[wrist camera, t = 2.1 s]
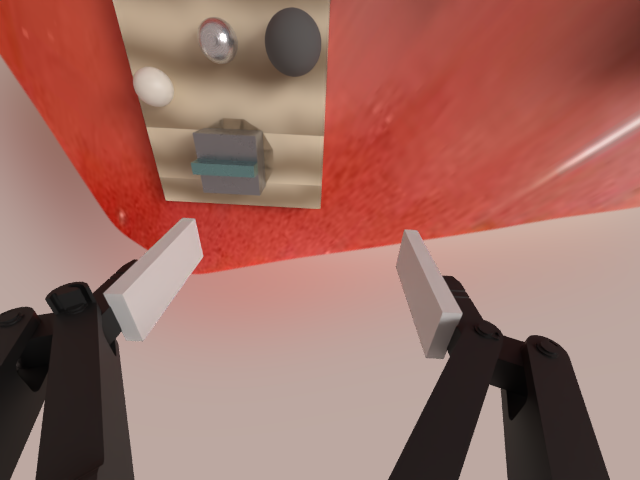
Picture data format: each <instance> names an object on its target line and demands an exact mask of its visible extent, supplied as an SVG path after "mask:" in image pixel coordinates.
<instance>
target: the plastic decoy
mask: <svg viewBox="0 0 640 480" xmlns="http://www.w3.org/2000/svg"><path fill="white" fill-rule="evenodd" d="M133 86H134V90H135V92H136V94H137V95H138V97H139V98H140V99H141V100H142V101H144V102H145V103H147V104H148V105H151V106H154V107H163V106H166V105H168V104H169V103H170V102H171V101H172V99H173V97H174V87H173V84H172V82H171V80H170V78H169V77H168V76H167V75H166V74H165V73H164V72H162V71H161V70H159V69H157V68H154V67H143V68H141V69H139V70H138V71H137V72H136V73H135V75H134V78H133Z"/></svg>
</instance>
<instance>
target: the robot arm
mask: <svg viewBox="0 0 640 480" xmlns="http://www.w3.org/2000/svg"><path fill="white" fill-rule="evenodd" d="M202 258H203V253H202V248H201V244H200V239H199V235H198V230H197V225H196V221H195V219H193V218H182V219H181V220H180V221H179V222H178V223H176V224H175V225H174V226H173V227H172V228H171V229H170V230H169V231H168V232H167V233H166V234H165V235H164V236H163V237H162V238H161V239H160V240H159V241H158V242H157V243H155V244H154V245H153V246H152V247H151V248H150V249H149V250H148V251H147V252H146V253H145V254H144V255H143V256H142V257H141V258H140V259H139V260H132V261H131V262H129V263H127V264H125V265H124V266H122V267H121V268H120V269H119V270H118V271H117V272H116V273H115V274H114V275H113V276H111V277H110V279H108V280H107V281H106V282H105V283H104V284H103V285H101V286H100V287H99V288H98V289H97V290H96V291H95V292H94V293H93V294H92V292H91V290H90V288H89V286H88V284H87V283H84V282H73V283H68V284H65V285H63V286H60V287H58V288H56V289H54V290H53V291H51V292H50V293H49V294H48V295H47V297H46V299H45V300H46V301H47V303H48V305H49V306H50V307H51V309H52V311H53V312H54V313H50V314H43V315H37V314H36V313H35V311H34V310H33V309H32V308H30V307H20V308H15V309H11V310H9V311H7V312H4V313H2V314H0V480H10V478H11V476H12V474H13V471H14V469H15V467H16V465H17V462H18V460H19V458H20V455H21V453H22V451H23V449H24V446H25V444H26V442H27V439H28V437H29V435H30V432H31V430H32V428H33V425H34V423H35V421H36V419H37V416H38V414H39V412H40V410H41V407H42V405H43V402H44V400H45V404H44V413H43V421H42V430H41V438H40V446H39V454H38V463H37V471H36V480H134V472H133V464H132V455H131V447H130V439H129V430H128V423H127V413H126V405H125V397H124V388H123V380H122V373H121V372H122V371H121V364H120V355H119V346H118V342H117V340H116V337H117V336H118V335H119V334H120V332H121V331H122V333H123V335H124V337H125V339H126V340H130V341H144V339H145V338H146V337H147V335H148V334H149V332H150V331H151V329H152V328H153V327H154V325H155V324H156V322H157V321H158V320H159V318H160V317H161V315H162V314H163V312H164V311H165V310H166V308H167V307H168V306H169V304H170V303H171V301H172V300H173V299H174V297H175V296H176V294H177V293H178V292H179V290H180V289H181V287H182V286H183V284H184V283H185V282H186V280H187V279H188V277H189V276H190V275H191V273H192V272H193V270H194V269H195V268H196V266H197V265H198V263H199V262H200V261H201V259H202ZM396 269H397V272H398V275H399V278H400V281H401V284H402V287H403V290H404V293H405V296H406V299H407V302H408V305H409V308H410V311H411V314H412V318H413V321H414V324H415V326H416V330H417V333H418V336H419V339H420V342H421V345H422V348H423V351H424V354H425V357H426V358H436V359H443V358H444V356H445V354H446V352H447V350H448V353H449V355H450V358H449V360H448V362H447V364H446V366H445V368H444V370H443V372H442V374H441V376H440V378H439V380H438V382H437V384H436V386H435V388H434V390H433V392H432V394H431V396H430V398H429V399H428V401H427V404H426V405H425V407H424V409H423V412H422V413H421V416H420V417H419V419H418V421H417V424H416V425H415V428H414V429H413V431H412V434H411V435H410V437H409V439H408V441H407V443H406V445H405V447H404V449H403V451H402V453H401V455H400V457H399V459H398V461H397V463H396V465H395V467H394V469H393V471H392V473H391V475H390V477H389V479H388V480H458V479H459V476H460V473H461V470H462V467H463V464H464V461H465V457H466V454H467V451H468V448H469V445H470V442H471V439H472V436H473V433H474V430H475V427H476V424H477V421H478V418H479V414H480V411H481V408H482V405H483V402H484V399H485V396H486V393H487V390H488V387H489V384H490V385H493V386H496V387H499V388H501V397H502V410H503V422H504V437H505V450H506V463H507V477H508V480H610V478H609V476H608V472H607V469H606V467H605V463H604V460H603V457H602V454H601V451H600V448H599V445H598V442H597V439H596V436H595V433H594V430H593V427H592V424H591V421H590V418H589V415H588V412H587V409H586V406H585V403H584V400H583V397H582V394H581V391H580V388H579V385H578V382H577V379H576V376H575V373H574V370H573V367H572V364H571V361H570V358H569V356H568V354H567V352H566V351H565V350H564V349H563V348H562V347H561V346H560V345H559V344H557V343H556V342H554V341H552V340H550V339H548V338H546V337H543V336H538V335H532V336H530V337H528V338H527V340H526V341H525V342H523V341H519V340H516V339H512V338H509V337H506V336H503V334H502V333H501V331H500V330H499V329H498V328H497V327H496V326H495V325H493V324H491V323H490V322H488V321H485V320H483V319H482V317H481V315H480V314H479V312H478V310H477V309H476V307H475V306H474V304H473V302H472V301H471V299H470V298H469V296H468V294H467V293H466V292H465V289H464V288H463V286H462V285H461V283H460V282H459V281H457V280H456V279H455V278H454V277H453V276H442V275H441V273H440V271H439V269H438V267H437V266H436V264H435V262H434V260H433V258H432V257H431V255H430V253H429V251H428V249H427V247H426V245H425V244H424V242H423V240H422V238H421V236H420V234H419V233H418V231H417V230H404V233H403V237H402V242H401V246H400V251H399V256H398V260H397V264H396Z"/></svg>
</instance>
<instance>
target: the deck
mask: <svg viewBox="0 0 640 480" xmlns="http://www.w3.org/2000/svg"><path fill="white" fill-rule="evenodd" d="M112 1H113V4H114V8H115V12H116V15H117V19H118V23H119V27H120V30H121V34H122V38H123V42H124V45H125V49H126V53H127V57H128V60H129V64H130V68H131V72H132V75H133V78H134V75H135V73H136V72H137V71H138V70H139V69H141V68H143V67H154V68H157V69H159V70H161V71H162V72H164V73H165V74H166V75H167V76H168V77H169V78H170V80H171V82H172V84H173V87H174V97H173V99H172V101H171V102H170V103H169V104H168V105H166V106H163V107H154V106H151V105H148V104H147V103H145V102H144V101H142V100H141V99H140V98H139V97H138V98H139V102H140V105H141V109H142V113H143V117H144V120H145V124H146V128H147V132H148V135H149V139H150V143H151V147H152V150H153V154H154V158H155V162H156V165H157V169H158V173H159V177H160V180H161V184H162V188H163V192H164V195H165V199H166V201H184V202H203V203H221V204H239V205H257V206H276V207H294V208H312V209H320V206H321V189H322V168H323V146H324V125H325V103H326V82H327V60H328V39H329V17H330V0H112ZM289 7H294V8H299V9H301V10H303V11H305V12H306V13H308V14H309V15H310V16H311V17H312V18H313V19H314V21H315V22H316V24H317V26H318V28H319V31H320V35H321V53H320V56H319V59H318V61H317V63H316V65H315V66H314V68H313V69H312V70H311V71H309V72H308V73H307V74H305V75H302V76H298V77H291V76H287V75H285V74H283V73H281V72H279V71H278V70H277V69H276V68H275V67H274V66H273V64H272V63H271V61H270V60H269V58H268V55H267V52H266V48H265V32H266V28H267V25H268V23H269V21H270V20H271V18H272V17H273V16H274V15H275V14H276V13H277V12H278V11H280V10H282V9H285V8H289ZM209 17H218V18H221V19H223V20H225V21H226V22H227V23H229V24H230V25H231V27H232V28H233V30H234V31H235V33H236V36H237V40H238V50H237V54H236V56H235V57H234V59H233V60H232V61H230V62H229V63H226V64H218V63H215V62H212V61H211V60H209V59H208V58H207V57H206V56H205V55H204V54H203V52H202V51H201V49H200V47H199V44H198V39H197V32H198V28H199V26H200V24H201V23H202V21H203V20H205V19H206V18H209ZM203 128H222V129H242V130H262V133H263V148H264V164H265V180H266V186H265V188H264V190H263V191H262V193H261V195H260V196H258V195H239V194H221V193H204V192H203V186H202V181H201V176H200V175H193V172H192V167H191V162H193V161H195V160H196V159H197V154H196V149H195V144H194V138H193V132H196V131H198V130H201V129H203Z"/></svg>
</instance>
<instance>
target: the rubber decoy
mask: <svg viewBox="0 0 640 480" xmlns="http://www.w3.org/2000/svg"><path fill="white" fill-rule="evenodd" d="M265 48H266V52H267V55H268V58H269V60H270V61H271V63H272V64H273V66H274V67H275V68H276V69H277V70H278V71H279V72H281V73H283V74H285V75H287V76H291V77H298V76H302V75H305V74H307V73H308V72H309V71H311V70H312V69H313V68H314V66H315V65H316V63H317V61H318V59H319V56H320V53H321V35H320V31H319V28H318V26H317V24H316V22H315V21H314V19H313V18H312V17H311V16H310V15H309V14H308V13H306V12H305V11H303V10H301V9H299V8H294V7H289V8H285V9H282V10H280V11H278V12H277V13H276V14H275V15H274V16H273V17H272V18H271V20H270V21H269V23H268V25H267V28H266V32H265Z"/></svg>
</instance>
